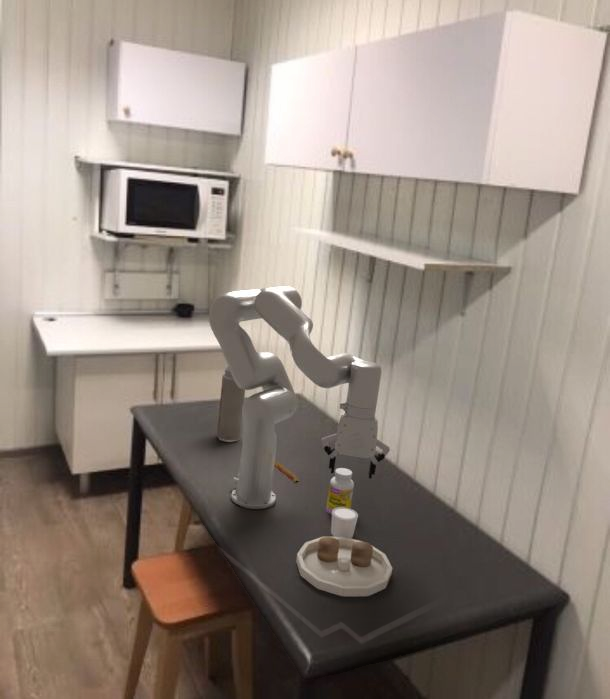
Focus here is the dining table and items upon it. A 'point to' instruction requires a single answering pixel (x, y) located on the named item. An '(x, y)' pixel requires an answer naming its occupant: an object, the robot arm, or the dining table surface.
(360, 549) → the bead
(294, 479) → the chocolate bar
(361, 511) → the dining table surface
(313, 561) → the tray
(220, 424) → the thermos bottle
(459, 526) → the dining table surface
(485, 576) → the dining table surface
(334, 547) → the bead
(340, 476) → the supplement bottle
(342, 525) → the white rimmed cylinder
